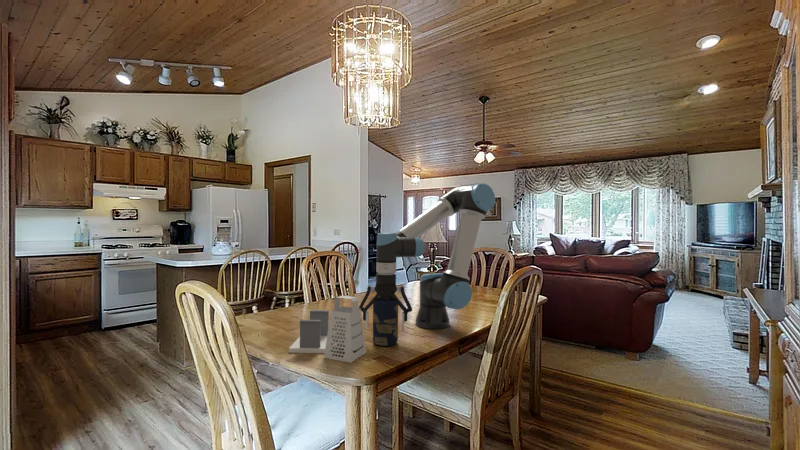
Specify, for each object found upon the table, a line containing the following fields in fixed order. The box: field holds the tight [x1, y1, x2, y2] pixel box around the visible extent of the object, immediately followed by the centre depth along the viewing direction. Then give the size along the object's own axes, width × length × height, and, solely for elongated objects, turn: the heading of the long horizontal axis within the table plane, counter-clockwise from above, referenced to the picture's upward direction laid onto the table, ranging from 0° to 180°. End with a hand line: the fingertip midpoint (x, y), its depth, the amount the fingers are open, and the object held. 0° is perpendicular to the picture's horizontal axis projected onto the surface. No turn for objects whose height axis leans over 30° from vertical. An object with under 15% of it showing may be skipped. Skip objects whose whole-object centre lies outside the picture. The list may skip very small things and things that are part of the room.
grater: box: [323, 295, 367, 363], centre depth 131 cm, size 10×10×20 cm
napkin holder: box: [288, 309, 330, 354], centre depth 141 cm, size 14×17×11 cm
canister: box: [372, 297, 399, 347], centre depth 143 cm, size 10×10×18 cm
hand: (384, 329), depth 143 cm, fingers open, 13 cm apart
